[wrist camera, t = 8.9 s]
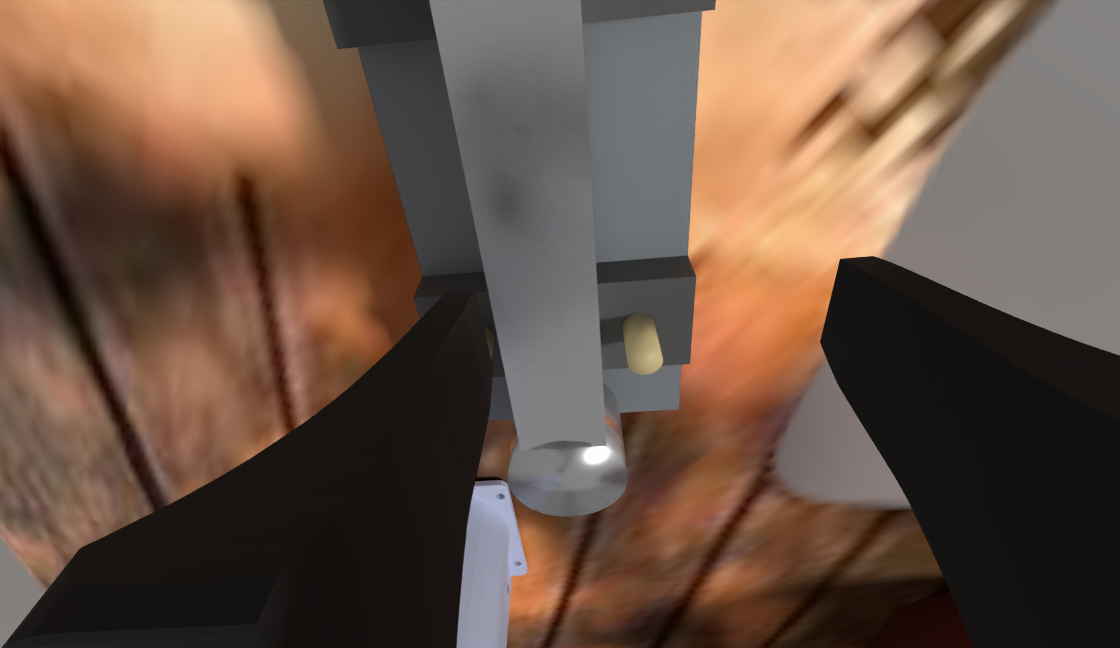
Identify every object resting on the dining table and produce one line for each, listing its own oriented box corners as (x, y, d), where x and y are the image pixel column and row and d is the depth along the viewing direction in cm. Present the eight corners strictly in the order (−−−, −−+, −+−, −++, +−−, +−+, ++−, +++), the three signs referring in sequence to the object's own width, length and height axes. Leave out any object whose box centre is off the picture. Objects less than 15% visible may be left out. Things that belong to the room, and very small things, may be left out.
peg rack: (673, 386, 25) (694, 470, 21) (468, 399, 26) (451, 484, 22) (712, -436, 11) (797, -650, 7) (263, -368, 12) (107, -531, 8)
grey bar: (620, 444, 23) (628, 513, 20) (522, 449, 24) (516, 519, 21) (588, -472, 9) (600, -656, 6) (345, -435, 9) (252, -595, 7)
